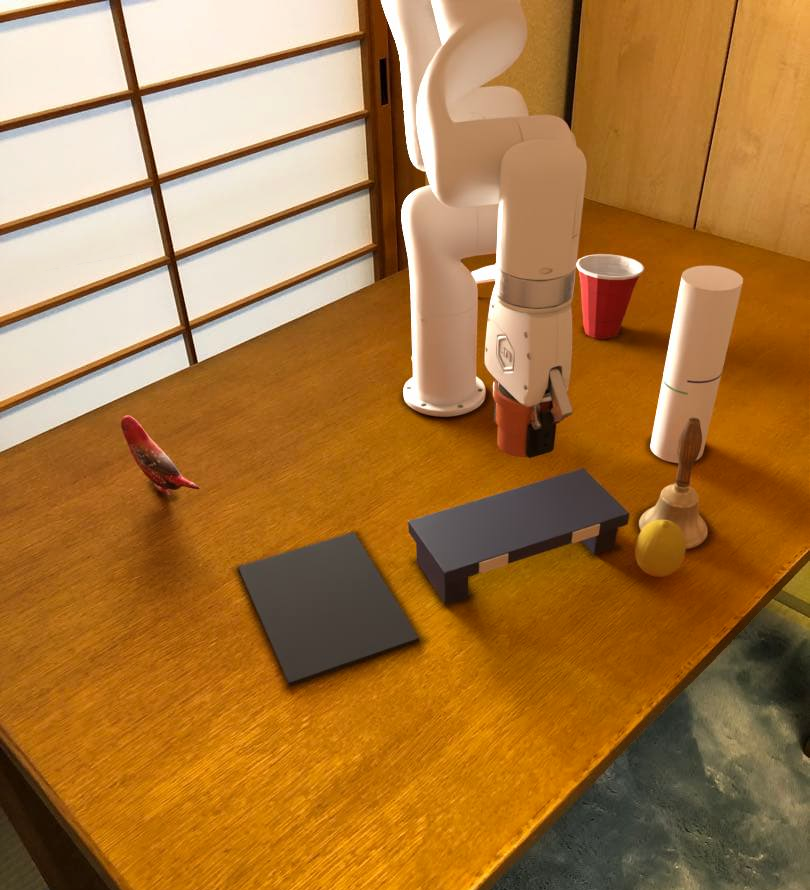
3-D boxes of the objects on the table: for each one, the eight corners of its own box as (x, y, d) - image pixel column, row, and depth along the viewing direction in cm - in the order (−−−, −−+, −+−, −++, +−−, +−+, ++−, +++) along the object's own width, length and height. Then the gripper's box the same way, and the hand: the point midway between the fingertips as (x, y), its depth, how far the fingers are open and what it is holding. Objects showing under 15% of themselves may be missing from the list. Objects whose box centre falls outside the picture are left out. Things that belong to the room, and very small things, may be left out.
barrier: (409, 558, 107) (407, 520, 103) (578, 505, 113) (583, 467, 110) (445, 612, 99) (445, 574, 96) (624, 552, 106) (631, 513, 102)
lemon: (669, 596, 100) (682, 544, 95) (623, 580, 103) (633, 527, 97) (685, 568, 104) (698, 516, 99) (640, 553, 106) (650, 501, 101)
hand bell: (668, 558, 105) (693, 448, 95) (625, 520, 111) (643, 412, 100) (721, 536, 108) (751, 427, 98) (676, 500, 114) (699, 393, 103)
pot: (479, 434, 98) (481, 376, 93) (534, 418, 100) (539, 361, 95) (509, 468, 93) (513, 409, 88) (566, 451, 95) (573, 393, 90)
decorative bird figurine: (144, 466, 123) (127, 405, 116) (217, 521, 113) (203, 458, 107) (126, 475, 122) (108, 414, 115) (198, 532, 112) (183, 468, 105)
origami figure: (499, 315, 155) (500, 289, 151) (455, 307, 157) (455, 281, 154) (522, 288, 163) (524, 262, 159) (480, 281, 166) (481, 255, 162)
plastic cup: (644, 325, 150) (654, 257, 142) (619, 351, 143) (629, 282, 136) (585, 311, 155) (592, 244, 147) (559, 336, 148) (565, 268, 140)
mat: (238, 570, 106) (237, 566, 106) (354, 535, 110) (353, 531, 110) (289, 686, 92) (288, 683, 92) (419, 641, 96) (419, 638, 96)
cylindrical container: (704, 465, 119) (745, 292, 103) (650, 460, 120) (682, 288, 104) (701, 436, 124) (740, 267, 108) (650, 432, 126) (680, 264, 109)
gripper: (459, 255, 89) (457, 405, 101) (546, 329, 77) (532, 490, 89) (524, 241, 91) (514, 390, 103) (619, 311, 79) (596, 471, 91)
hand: (523, 435), depth 96 cm, fingers closed on pot, 6 cm apart
